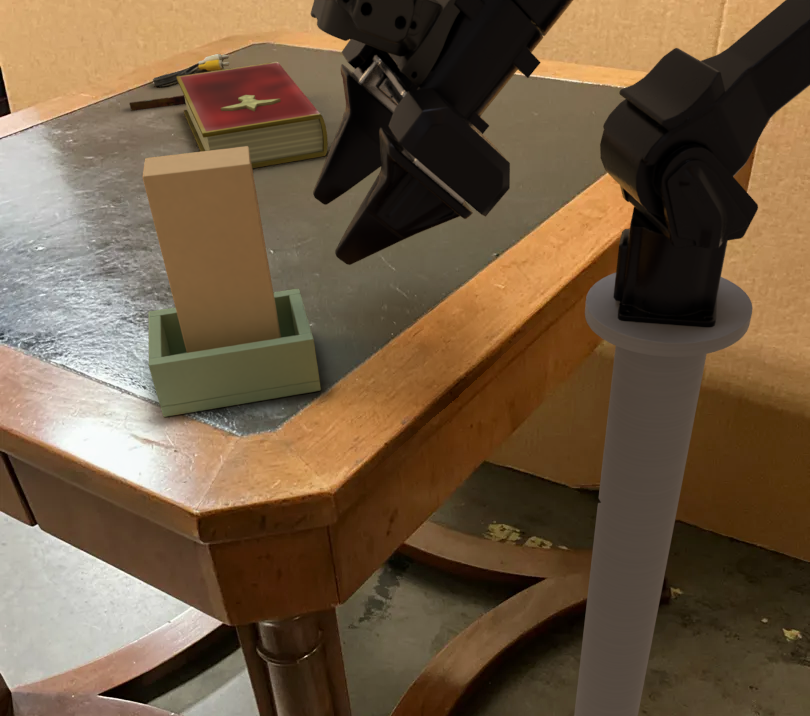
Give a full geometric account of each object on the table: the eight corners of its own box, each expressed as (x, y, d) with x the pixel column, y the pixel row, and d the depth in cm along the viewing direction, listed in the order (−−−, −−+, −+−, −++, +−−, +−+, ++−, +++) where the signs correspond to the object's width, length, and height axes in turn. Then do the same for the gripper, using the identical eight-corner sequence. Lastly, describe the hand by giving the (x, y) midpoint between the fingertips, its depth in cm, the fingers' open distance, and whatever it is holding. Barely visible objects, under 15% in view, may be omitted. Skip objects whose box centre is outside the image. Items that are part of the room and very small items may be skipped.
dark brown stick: (258, 94, 107) (257, 85, 107) (258, 95, 107) (257, 86, 106) (131, 111, 105) (129, 101, 105) (131, 112, 105) (129, 102, 104)
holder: (161, 361, 62) (148, 311, 59) (306, 338, 63) (299, 287, 60) (163, 417, 57) (148, 365, 54) (321, 391, 58) (313, 338, 55)
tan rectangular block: (193, 354, 61) (144, 157, 52) (282, 342, 61) (248, 145, 52) (193, 377, 58) (141, 176, 50) (284, 365, 59) (250, 163, 50)
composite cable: (155, 89, 111) (150, 67, 109) (152, 78, 114) (147, 57, 113) (233, 77, 113) (230, 55, 111) (228, 68, 116) (224, 46, 114)
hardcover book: (286, 97, 105) (280, 58, 102) (329, 155, 90) (324, 110, 87) (184, 113, 103) (175, 73, 100) (211, 175, 88) (201, 130, 85)
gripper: (361, -138, 51) (208, 96, 57) (440, -96, 37) (227, 207, 43) (494, 3, 57) (343, 201, 63) (604, 84, 43) (398, 326, 49)
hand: (329, 228), depth 55 cm, fingers open, 9 cm apart
